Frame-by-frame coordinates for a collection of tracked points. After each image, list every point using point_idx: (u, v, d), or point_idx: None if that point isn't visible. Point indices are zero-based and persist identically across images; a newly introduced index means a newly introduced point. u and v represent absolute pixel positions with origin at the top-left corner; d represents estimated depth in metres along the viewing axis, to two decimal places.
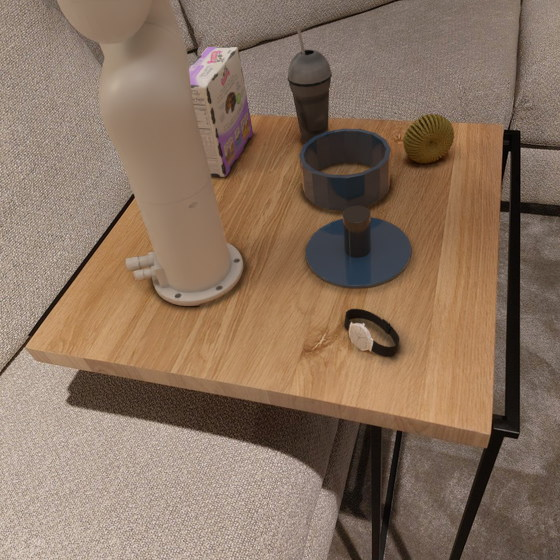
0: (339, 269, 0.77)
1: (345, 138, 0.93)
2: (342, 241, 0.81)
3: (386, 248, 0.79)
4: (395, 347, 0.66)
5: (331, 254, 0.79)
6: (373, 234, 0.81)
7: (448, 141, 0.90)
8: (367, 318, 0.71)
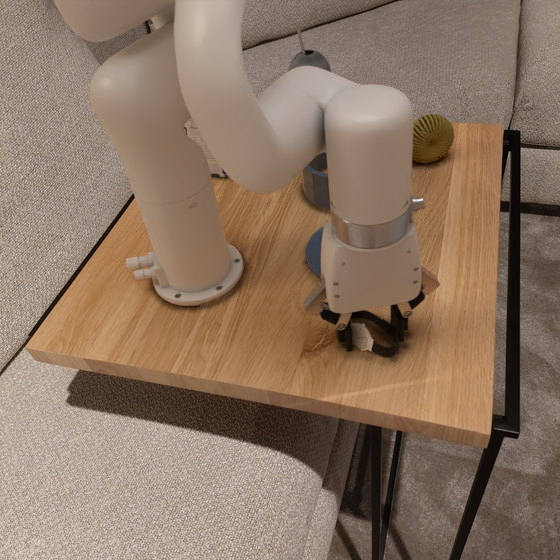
0: None
1: None
2: None
3: None
4: (395, 347, 0.66)
5: None
6: None
7: (448, 141, 0.90)
8: (367, 318, 0.71)
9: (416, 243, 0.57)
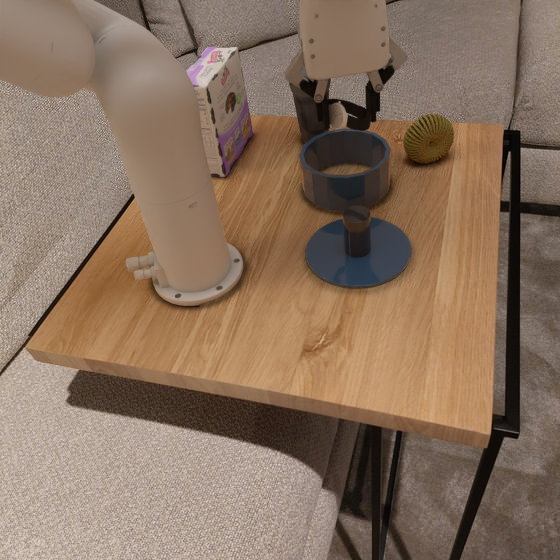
0: (339, 269, 0.77)
1: (345, 138, 0.93)
2: (342, 241, 0.81)
3: (386, 248, 0.79)
4: (367, 120, 0.73)
5: (331, 254, 0.79)
6: (373, 234, 0.81)
7: (448, 141, 0.90)
8: (345, 108, 0.78)
9: None
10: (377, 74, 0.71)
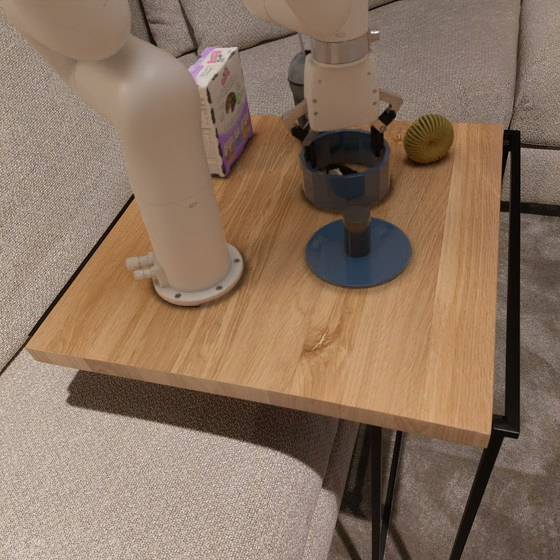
0: (339, 269, 0.77)
1: (345, 138, 0.93)
2: (342, 241, 0.81)
3: (386, 248, 0.79)
4: None
5: (331, 254, 0.79)
6: (373, 234, 0.81)
7: (448, 141, 0.90)
8: (343, 171, 0.93)
9: (374, 67, 0.77)
10: (377, 120, 0.83)
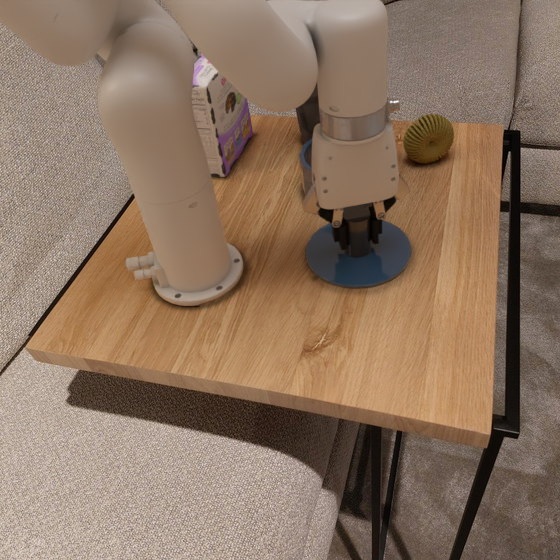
0: (339, 269, 0.77)
1: None
2: None
3: (386, 248, 0.79)
4: None
5: (331, 253, 0.79)
6: None
7: (448, 141, 0.90)
8: None
9: (393, 140, 0.67)
10: (382, 204, 0.73)
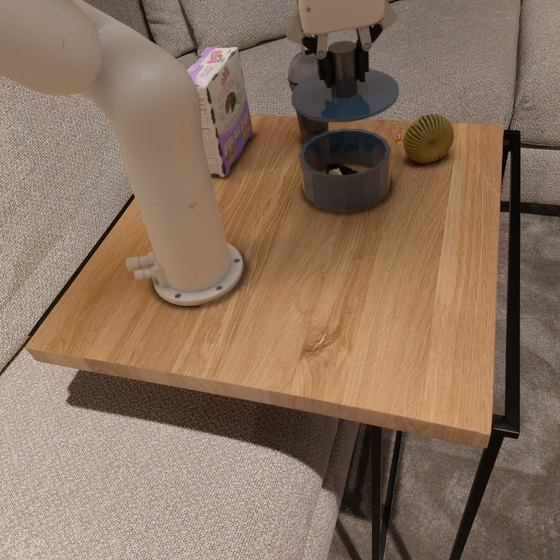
0: (324, 107, 0.75)
1: (345, 138, 0.93)
2: None
3: (373, 90, 0.77)
4: None
5: (317, 96, 0.77)
6: None
7: (448, 141, 0.90)
8: (343, 171, 0.93)
9: None
10: (368, 32, 0.71)
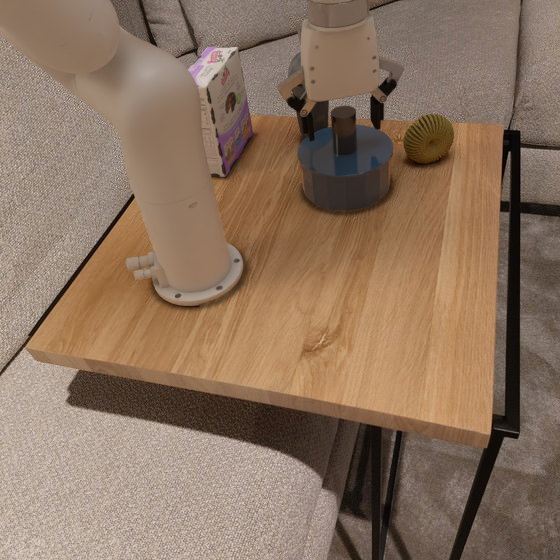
0: (328, 164, 0.85)
1: None
2: (331, 143, 0.89)
3: (371, 147, 0.87)
4: None
5: (321, 153, 0.87)
6: (360, 137, 0.89)
7: (448, 141, 0.90)
8: None
9: (373, 31, 0.74)
10: (377, 89, 0.80)
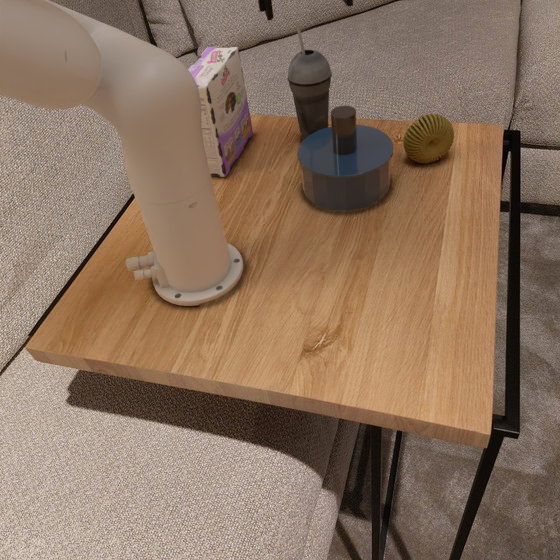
0: (328, 164, 0.85)
1: None
2: (331, 143, 0.89)
3: (371, 147, 0.87)
4: None
5: (321, 153, 0.87)
6: (360, 137, 0.89)
7: (448, 141, 0.90)
8: None
9: None
10: None
